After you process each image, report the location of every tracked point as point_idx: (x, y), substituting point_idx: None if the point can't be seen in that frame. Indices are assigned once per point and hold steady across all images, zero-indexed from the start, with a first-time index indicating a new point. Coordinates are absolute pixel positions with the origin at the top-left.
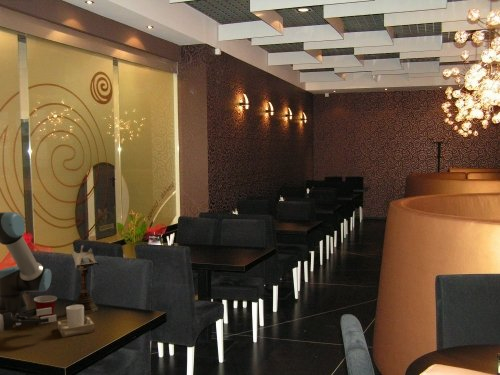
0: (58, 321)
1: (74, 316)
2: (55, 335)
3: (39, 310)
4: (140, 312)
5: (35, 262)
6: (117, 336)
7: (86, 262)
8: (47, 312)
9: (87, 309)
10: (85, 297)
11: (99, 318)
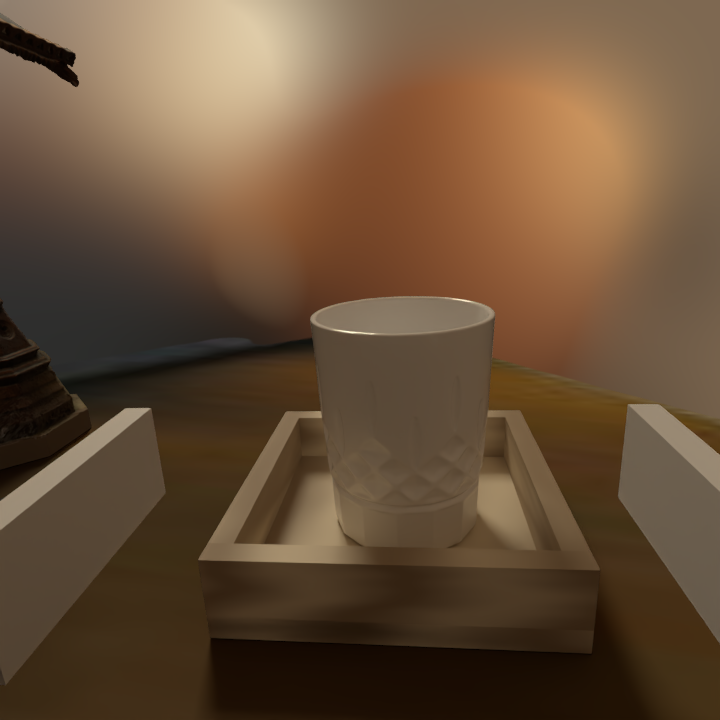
0: (219, 553)
1: (487, 393)
2: (471, 710)
3: (23, 531)
4: (308, 349)
5: None
6: (674, 416)
7: (3, 19)
8: (129, 502)
9: (58, 414)
10: (7, 338)
11: (241, 422)
